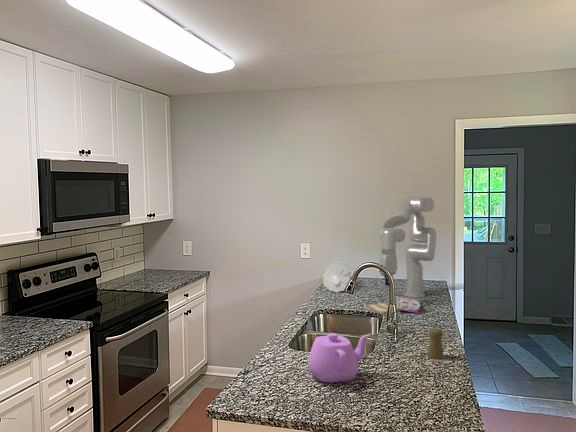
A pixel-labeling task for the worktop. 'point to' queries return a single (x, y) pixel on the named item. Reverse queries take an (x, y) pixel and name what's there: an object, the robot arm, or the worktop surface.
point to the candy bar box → (408, 304)
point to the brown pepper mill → (435, 344)
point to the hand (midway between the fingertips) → (388, 285)
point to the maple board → (379, 308)
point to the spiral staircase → (337, 276)
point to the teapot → (335, 358)
